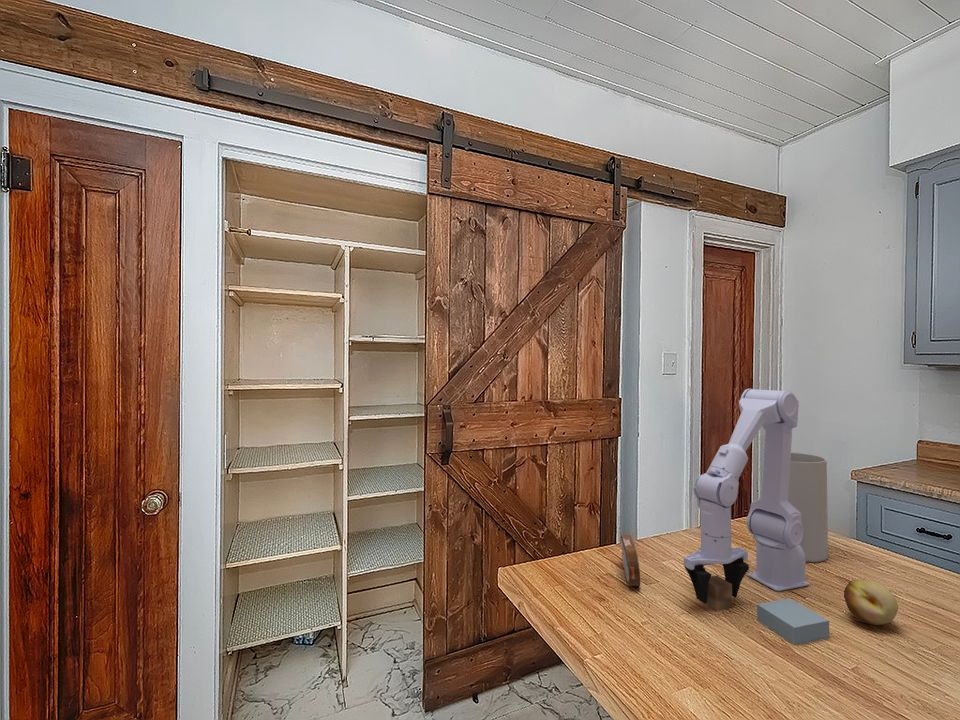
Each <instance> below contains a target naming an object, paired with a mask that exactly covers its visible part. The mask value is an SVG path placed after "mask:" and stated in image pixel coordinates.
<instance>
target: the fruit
mask: <svg viewBox="0 0 960 720" xmlns="http://www.w3.org/2000/svg"><path fill="white" fill-rule="evenodd" d="M843 599H844V602H845V605H846V606H847V609H848V611H849V612H850V613H851V614H852V615H853V616H854V617H855V618H856V619H858V620H859V621H860V622H863V623H865V624H868V625H873V626H881V625H886V624H889V623H891V622H892V621H893V620H894V619H895V618H896V616H897V614H898V610H899V605H898V601H897V598H896V597H895V595H894V594H893V592H891V591H890V589H888V588H887V587H886V586H885V585H882V584H881V583H880V582H879V583H878V582H877V581H874V580H869V579H852V580H850V581H849V582H848V583H847V584H846V586H845V588H844V590H843Z"/></svg>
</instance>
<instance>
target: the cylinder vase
mask: <svg viewBox="0 0 960 720" xmlns="http://www.w3.org/2000/svg"><path fill="white" fill-rule="evenodd" d="M827 464H828V461H827V458H825V457H822V456H818V455H814V454H808V453H800V452H791V460H790V478H789V495H788V501H789V503H790V504H791V505H792V506H794V507H795V508H796V509H797V510H798V511H799V512H800V513H801V521H802V526H803V531H804V533H803V539H802V541H801V543H800V544H799V545H800V546H801V547H802V549H803V551H804V554H805V563H820V562H823V561H825V560H827V559H828V558H829V533H828V531H829V525H828V523H829V522H828V469H827V468H828V466H827Z"/></svg>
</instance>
